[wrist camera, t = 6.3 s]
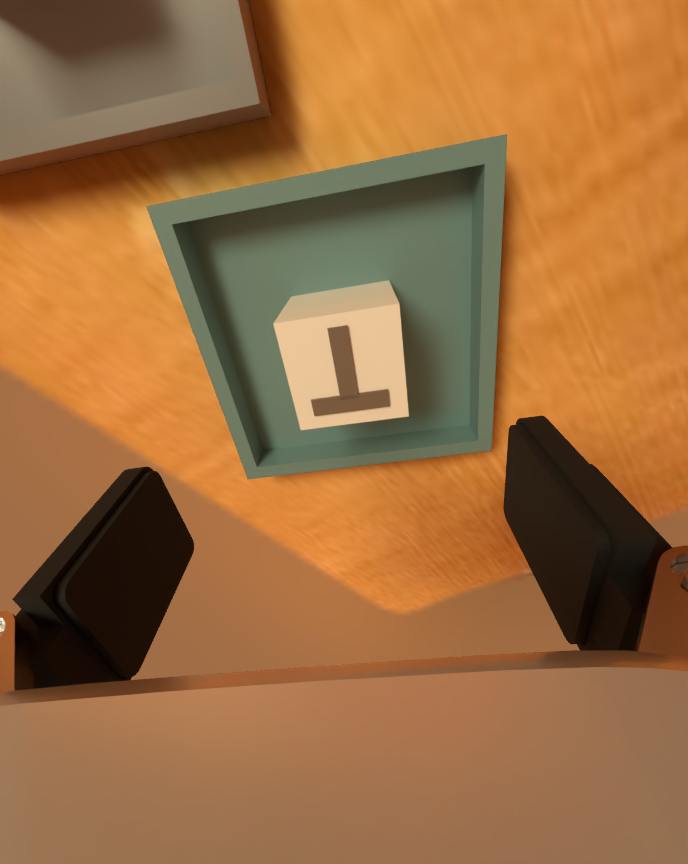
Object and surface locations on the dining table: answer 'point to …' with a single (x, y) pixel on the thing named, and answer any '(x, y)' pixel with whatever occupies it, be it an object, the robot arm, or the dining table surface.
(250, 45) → the charcoal tray
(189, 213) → the teal tray
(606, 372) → the dining table surface
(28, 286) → the dining table surface
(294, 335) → the letter cube
